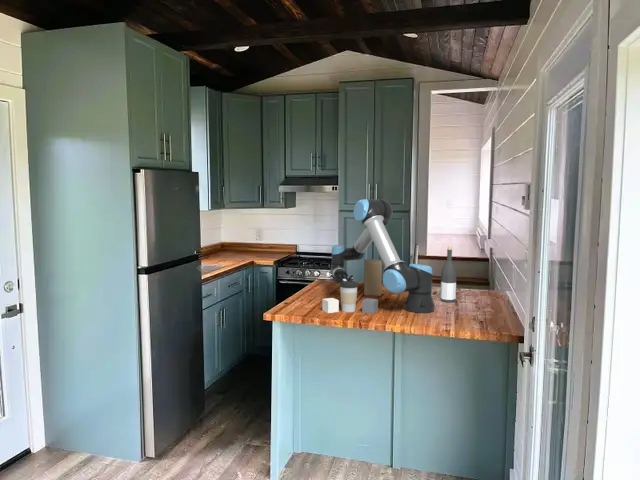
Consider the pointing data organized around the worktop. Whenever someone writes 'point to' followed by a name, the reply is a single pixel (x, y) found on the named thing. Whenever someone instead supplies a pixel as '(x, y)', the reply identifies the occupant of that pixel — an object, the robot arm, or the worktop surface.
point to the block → (372, 277)
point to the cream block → (330, 305)
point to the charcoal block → (370, 305)
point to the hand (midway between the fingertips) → (345, 283)
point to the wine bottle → (448, 280)
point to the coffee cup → (348, 295)
